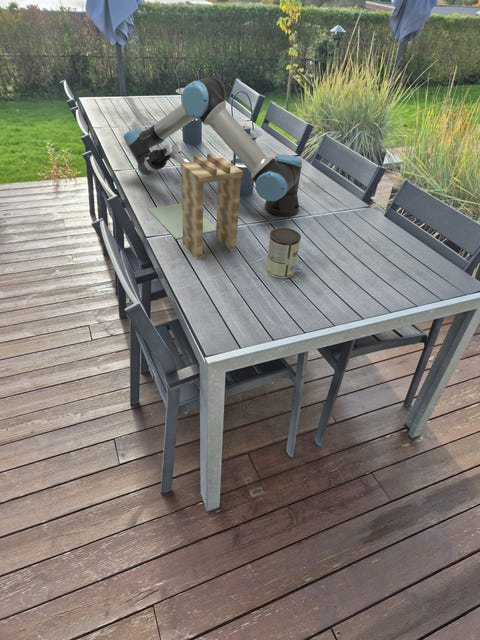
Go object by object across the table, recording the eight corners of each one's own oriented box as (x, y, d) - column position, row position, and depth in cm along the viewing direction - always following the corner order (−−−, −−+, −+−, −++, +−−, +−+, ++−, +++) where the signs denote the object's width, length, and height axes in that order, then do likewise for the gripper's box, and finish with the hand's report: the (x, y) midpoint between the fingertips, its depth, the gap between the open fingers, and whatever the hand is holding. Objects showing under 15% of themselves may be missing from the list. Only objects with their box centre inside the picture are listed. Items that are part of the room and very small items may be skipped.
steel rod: (162, 151, 172) (164, 144, 170) (169, 153, 173) (171, 145, 172) (189, 173, 156) (191, 164, 155) (196, 174, 158) (199, 166, 156)
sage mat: (148, 210, 184) (148, 208, 184) (187, 203, 192) (187, 202, 192) (176, 239, 166) (176, 238, 166) (217, 231, 174) (217, 229, 173)
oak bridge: (181, 242, 164) (180, 156, 144) (219, 234, 171) (222, 151, 151) (198, 260, 155) (199, 171, 135) (237, 251, 162) (243, 165, 142)
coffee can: (269, 260, 159) (273, 225, 150) (297, 266, 157) (303, 230, 148) (262, 275, 151) (266, 238, 142) (291, 281, 149) (298, 244, 140)
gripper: (175, 167, 190) (196, 155, 170) (139, 172, 183) (157, 160, 163) (171, 149, 188) (192, 135, 168) (135, 153, 181) (152, 139, 161)
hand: (175, 147), depth 165 cm, fingers closed on steel rod, 3 cm apart
